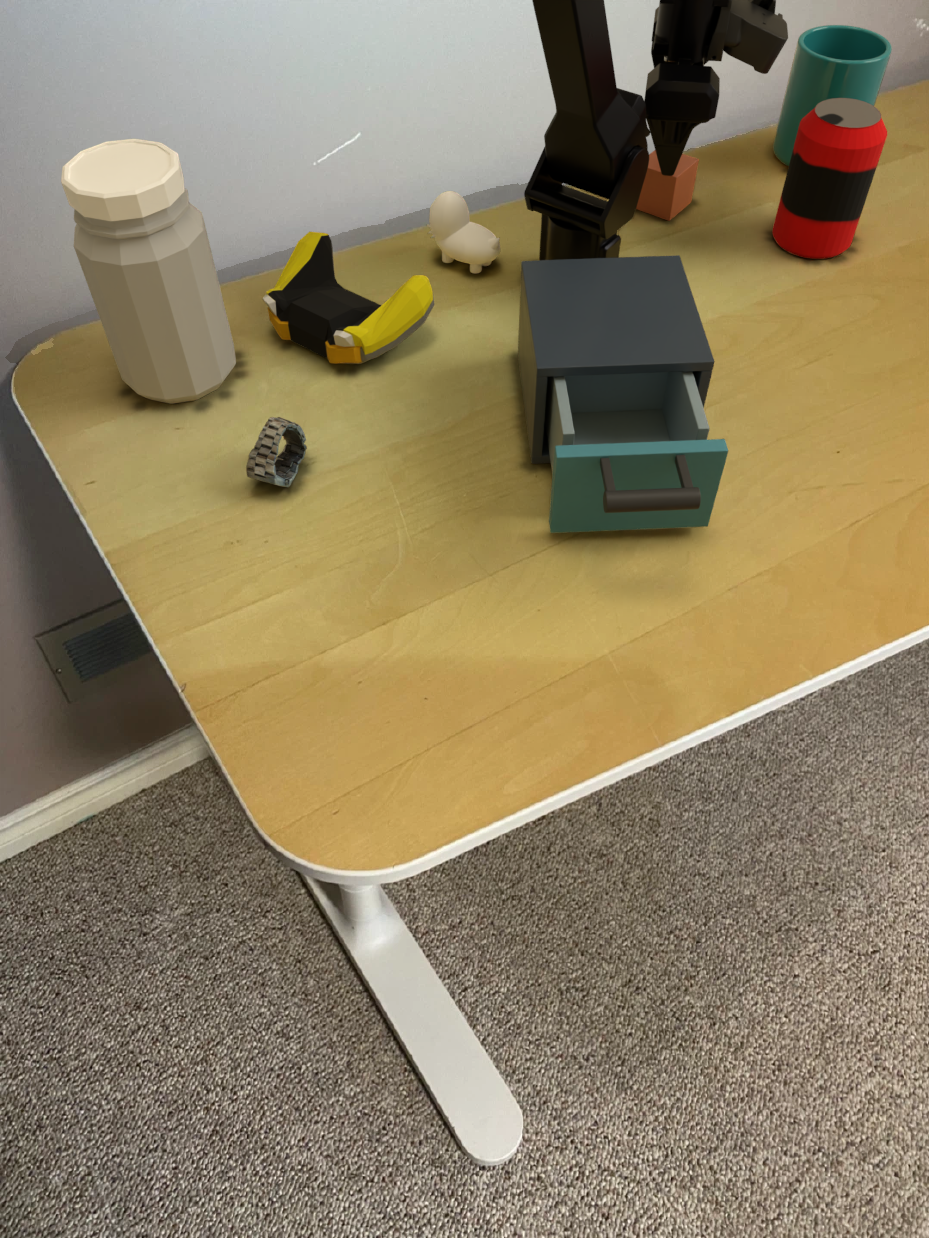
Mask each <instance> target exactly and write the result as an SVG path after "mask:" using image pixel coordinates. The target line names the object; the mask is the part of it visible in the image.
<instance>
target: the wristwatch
mask: <svg viewBox="0 0 929 1238" xmlns="http://www.w3.org/2000/svg"><path fill="white" fill-rule="evenodd" d="M282 437H283V441H284V440H285V445H284V447H283V450H282V451H281V452H280V453H279V448H280V447H279V446H280V443H281V440H282ZM306 441H307V438H306V434H305V431H304V429H303V428H302V426H301V425H300V424H299V423H296V422H294V421H291V420H289V419H286V418H284V417H281V416H276V417H275V416H270V417H269V418H268V419H267V421H266V422H265V423H264V425H263V427H262V429H261V431H259V434H258V437H257V440H256V442H255V444H254V447H253V448H251V450H250V452H249V453H248V459H247V462H246V465H245V466H246V467H245V471H246V477H247V478H249V479H252V480H257V481H260V482H263V483H267V484H271V485H275V486H277V487H283V488H289V487H291V485H292V483H293V481H294V480H295V477H296V475H297V474H298V472H299V465H300V464H301V462H303V460H304V459H305V456H306V453H307V452H306V451H307V449H308V446H307V445H306V444H305V443H306Z"/></svg>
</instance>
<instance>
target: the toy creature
mask: <svg viewBox="0 0 929 1238" xmlns="http://www.w3.org/2000/svg"><path fill="white" fill-rule="evenodd" d="M470 216H471V215H470V210H469V207H468V204H467V201H466V199H464V197H463V196H462V195H461V194H459V193H458V192H456V191H453V190H447V191H443V192H442V193H440V194H438V196H437V197H435V199H434V201H433V202H432V203H431V205H430V207H429V216H428V220H429V221H428V222H429V224H426V227H428V228H429V229H430V230H429V231H428V232H427V233H426V235H431V237H430V239H434V240H435V243H436V245H437V246H438V248H439V249H440V250H441V260H442V262H443V263H445V264H451V263H453V262H454V261H455V260H456V261H458V262H461V263H465V264H468V265H469V272H470V273H472V274H479V273H481V272H482V270H483V267H487V266H490V265H491V264H492V261H494V260H496V259H497V258H498V256H499V255H500V253H501V249H502V248H501V243H500V239H501V237H497V236H496V235H495V234H494V233H493V231H492V230H490V229H488V228H487V227H486V226H485V225H484V226H483V225H481V224H479V223H477V222H474V221H470V220H471V219H470Z"/></svg>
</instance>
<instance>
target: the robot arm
mask: <svg viewBox="0 0 929 1238" xmlns="http://www.w3.org/2000/svg"><path fill="white" fill-rule="evenodd" d="M531 1H532V7H533V10H534V14H535V20H536V23H537V28H538V32H539V38H540V41H541V42H540V43H541V46H542V50H543V56H544V60H545V64H546V68H547V73H548V77H549V82H550V86H551V90H552V91H551V92H552V95H553V100H554V104H555V114H554V115H553V117H552V119H551V121H550V123H549V125H548V126H547V129H546V131H545V132H544V136H543V140H544V147H543V150H542V152H541V154H540V156H539V159H538V160H537V163H536V164H535V167H534V169H533V172H532V174H531V176H530V178H529V181H528V183H527V185H526V187H525V189H524V192H523V195H524V201H525V205H526V210H528V211H531V212H535V213H538V214H541V216H540V217H541V219H540V220H541V221H540V236H539V253H538V257H539V258H538V260H564V259H591V258H619V257H620V249H621V242H622V241H621V240H622V238H621V236H620V234H618V231H619V230H620V229H622V228H623V227H624V226H625V225H626V224H628V223H629V222H630V221H631V220H632V219H634V216H635V214H636V210H637V209H636V207H637V204H638V200H639V197H640V193H641V190H642V186H643V183H644V180H645V176H646V173H647V169H648V165H649V154H650V153H649V148H648V145H649V144H648V140H647V138H648V137H649V136H650V137H651V140H652V144H653V146H654V150H655V151H656V155H657V158H658V162H659V166H660V170H661V173H662V175H664V176H673V175H674V173H675V170H676V168H677V165H678V163H679V161H680V158H681V156H682V154H684V150H685V149H686V146H687V143H688V141H689V139H690V137H691V134H692V132H693V131H694V129H695V128H696V127H697V126H699V125H701V124H707V123H709V122H710V121H711V120H714V119H715V118H716V116H717V111H718V105H719V101H720V100H719V99H720V87H721V86H720V85H721V84H720V82H721V81H720V79H721V78H720V77H719V75H718V74H717V72H716V71H715V70H714V69H713V67H712V66H709V65H706V64H707V63H709V62H722V60H723V55H724V53H725V54H727V55H728V56H730V57H732V58H734V59H736V60H738V61H740V62H742V63H744V64H747V65H748V66H750V67H752V68H753V69H754V71H755V72H758V73H759V74H763V75H767V74H768V73H769V72H770V71H771V69H772V67H773V65H774V63H775V62H776V60H777V58H778V57H779V55H780V53H781V51H782V49H783V48H784V46H785V45H786V43H787V41H788V39H789V31H788V29H789V28H788V22H787V21H786V20H785V19H784V16H783V14H782V13H781V12H780V13H779V12H778V13H777V14H776V5H777V0H659V3H658V6H657V7H656V8H655V10H654V17H653V26H652V34H651V47H650V48H651V49H650V55H651V60H652V65H653V68H652V70H650V71H649V72H648V73H647V76H646V85H645V93H644V97H643V95H641V94H638V93H635V92H632V91H629V90H625V89H621V88H619V87H617V80H616V74H615V67H614V60H613V53H612V46H611V39H610V33H609V26H608V19H607V11H606V5H605V4H606V3H605V0H531ZM567 185H568V186H567ZM589 193H590V194H589ZM592 194H593V195H592ZM594 195H595V196H594ZM597 196H598V197H597ZM599 197H600V198H599ZM603 198H604V199H603ZM605 199H606V200H605Z"/></svg>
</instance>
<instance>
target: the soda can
mask: <svg viewBox="0 0 929 1238" xmlns="http://www.w3.org/2000/svg"><path fill="white" fill-rule="evenodd" d="M887 138H888V130H887V128H886V124H885V123H884V120H883V118H882V112H881V111H880V110H879V109H878V108H877V107H876V106H873V105H871V104H869V103H866V102H864V101H860V100H856V99H850V98H833V99H827V100H824V101H822V102H820V103H819V104H817V105H816V107H815V108H814V109H813V110H812V111H810V112H809V113H808V114H807V115H806V116H805V117H803V118H802V120H801V121H800V124H799V128H798V132H797V136H796V140H795V144H794V148H793V151H792V155H791V159H790V163H789V166H787V168H788V169H787V171H786V175H785V179H784V182H783V187H782V191H781V193H780V199H779V201H778V206H777V210H776V214H775V217H774V222H773V225H772V231H771V232H772V236H773V239H774V241H775V242H776V244H777V245H778V246H779V247H780V248H781V249H783V250H784V251H786V252H788V253H789V254H791V255H794V256H797V257H801V258H805V259H810V260H823V259H830V258H834V257H837V256H840V255H841V254H842V253H844V252H845V251H847V250H848V249H849V248H850V247H851V245H852V242H853V240H854V237H855V234H856V232H857V228H858V225H859V222H860V219H861V216H862V213H863V210H864V207H865V203H866V201H867V198H868V195H869V193H870V192H869V191H870V189H871V186H872V182H873V180H874V177H875V174H876V171H877V169H878V168H877V167H878V165H879V162H880V158H881V156H882V154H883V153H882V152H883V149H884V146H885V145H886V141H887Z"/></svg>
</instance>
